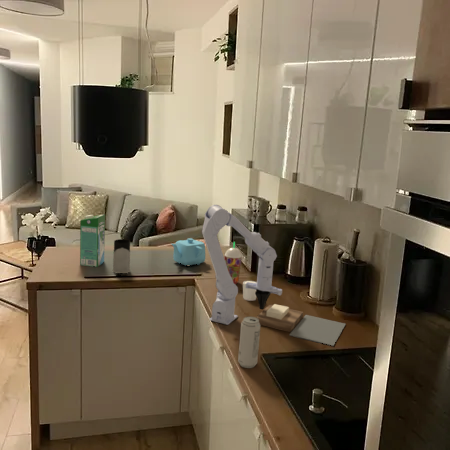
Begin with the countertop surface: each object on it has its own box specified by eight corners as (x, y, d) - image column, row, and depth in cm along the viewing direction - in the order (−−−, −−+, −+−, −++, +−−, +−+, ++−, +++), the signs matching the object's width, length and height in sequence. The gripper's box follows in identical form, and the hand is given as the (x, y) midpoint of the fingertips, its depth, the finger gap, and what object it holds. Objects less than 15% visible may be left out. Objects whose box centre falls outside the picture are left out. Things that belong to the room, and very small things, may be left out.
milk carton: (87, 260, 247) (88, 212, 242) (104, 262, 246) (105, 214, 241) (79, 265, 238) (80, 215, 233) (97, 267, 237) (98, 217, 232)
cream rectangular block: (281, 319, 182) (281, 314, 182) (266, 316, 184) (266, 311, 184) (288, 311, 190) (288, 307, 190) (274, 308, 192) (274, 303, 192)
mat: (333, 346, 168) (333, 345, 168) (289, 335, 175) (289, 334, 174) (345, 324, 188) (345, 323, 188) (305, 315, 194) (305, 314, 194)
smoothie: (234, 287, 222) (237, 245, 218) (219, 283, 226) (221, 241, 222) (243, 282, 229) (246, 242, 225) (228, 278, 233) (231, 238, 229)
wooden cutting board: (290, 332, 177) (291, 325, 177) (255, 323, 183) (255, 317, 182) (302, 317, 192) (303, 311, 191) (269, 310, 197) (269, 304, 197)
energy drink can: (241, 357, 155) (245, 314, 152) (259, 362, 153) (263, 318, 150) (235, 365, 150) (238, 320, 147) (253, 370, 148) (257, 325, 145)
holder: (112, 274, 228) (112, 243, 225) (111, 265, 242) (112, 236, 239) (131, 273, 231) (131, 243, 227) (129, 265, 244) (130, 236, 241)
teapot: (177, 257, 263) (178, 233, 260) (207, 260, 261) (208, 236, 258) (169, 267, 246) (170, 241, 243) (200, 270, 243) (202, 244, 241)
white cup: (256, 302, 205) (257, 286, 204) (240, 299, 207) (241, 284, 205) (258, 296, 212) (259, 281, 210) (243, 294, 213) (244, 279, 212)
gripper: (285, 276, 188) (282, 309, 190) (251, 269, 193) (248, 301, 196) (280, 281, 181) (276, 315, 184) (244, 274, 187) (242, 307, 190)
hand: (261, 308), depth 190 cm, fingers closed
